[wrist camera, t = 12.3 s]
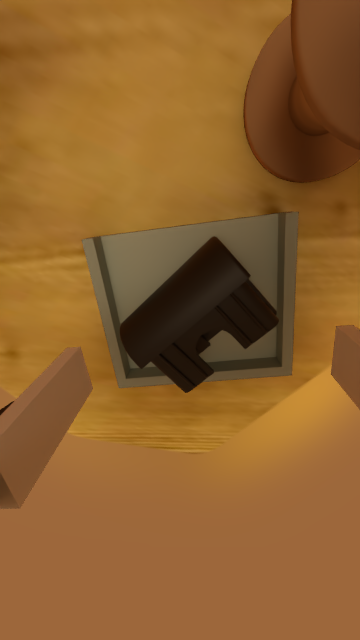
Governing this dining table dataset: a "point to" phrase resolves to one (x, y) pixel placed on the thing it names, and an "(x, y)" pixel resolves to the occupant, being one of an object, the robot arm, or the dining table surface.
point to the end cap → (196, 315)
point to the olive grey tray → (167, 257)
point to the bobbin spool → (307, 93)
